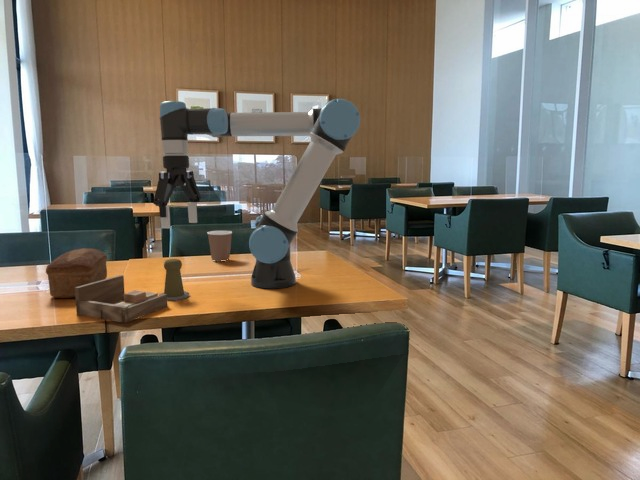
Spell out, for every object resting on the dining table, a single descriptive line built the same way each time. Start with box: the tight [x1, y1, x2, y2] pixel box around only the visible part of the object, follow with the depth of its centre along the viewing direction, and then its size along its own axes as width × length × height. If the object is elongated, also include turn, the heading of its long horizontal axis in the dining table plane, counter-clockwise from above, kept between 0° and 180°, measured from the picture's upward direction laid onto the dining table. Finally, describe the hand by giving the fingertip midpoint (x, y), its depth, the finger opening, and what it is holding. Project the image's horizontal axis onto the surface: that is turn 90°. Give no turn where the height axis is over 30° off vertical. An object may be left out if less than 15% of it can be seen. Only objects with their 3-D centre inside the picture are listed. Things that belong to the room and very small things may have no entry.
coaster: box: [158, 290, 190, 302], centre depth 148 cm, size 9×9×1 cm
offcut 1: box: [114, 301, 134, 306], centre depth 129 cm, size 4×4×4 cm
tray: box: [74, 274, 168, 324], centre depth 134 cm, size 17×16×8 cm
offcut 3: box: [145, 291, 159, 300], centre depth 137 cm, size 4×4×4 cm
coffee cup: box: [206, 230, 233, 261], centre depth 203 cm, size 10×10×12 cm
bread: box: [45, 247, 108, 299], centre depth 156 cm, size 14×28×12 cm, turn 13°
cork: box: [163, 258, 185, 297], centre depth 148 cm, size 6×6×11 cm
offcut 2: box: [123, 289, 147, 304], centre depth 132 cm, size 4×4×6 cm
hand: (180, 225), depth 148 cm, fingers open, 13 cm apart
